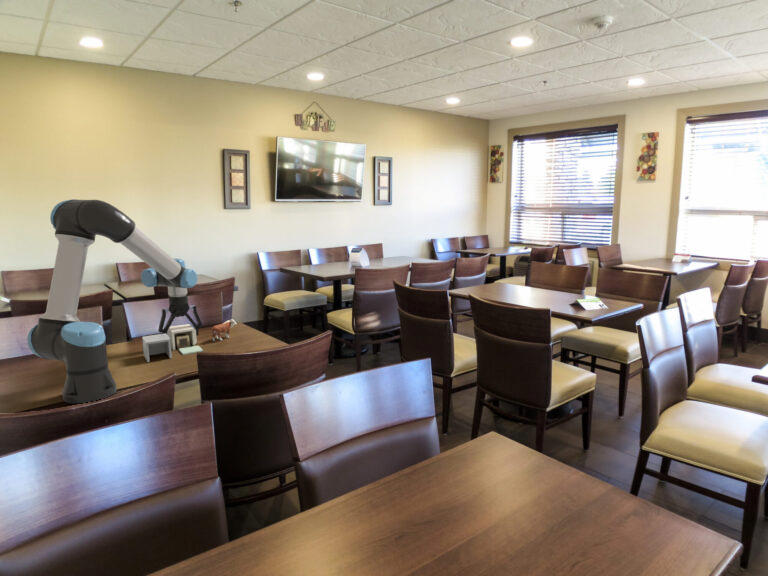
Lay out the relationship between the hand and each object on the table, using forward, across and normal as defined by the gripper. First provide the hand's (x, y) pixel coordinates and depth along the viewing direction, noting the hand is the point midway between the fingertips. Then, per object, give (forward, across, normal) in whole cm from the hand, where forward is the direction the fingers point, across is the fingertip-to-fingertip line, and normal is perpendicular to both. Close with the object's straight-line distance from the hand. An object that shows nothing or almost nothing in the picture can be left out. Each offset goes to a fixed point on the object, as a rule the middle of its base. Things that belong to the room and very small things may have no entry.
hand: (182, 345), depth 215 cm
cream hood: (0, 0, 0) cm, 0 cm away
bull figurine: (+1, -18, -1) cm, 18 cm away
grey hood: (0, +12, +11) cm, 16 cm away
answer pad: (0, -2, +10) cm, 10 cm away
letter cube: (0, 0, +1) cm, 1 cm away
